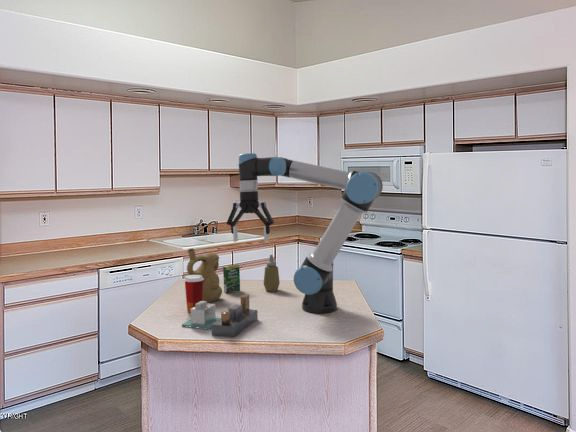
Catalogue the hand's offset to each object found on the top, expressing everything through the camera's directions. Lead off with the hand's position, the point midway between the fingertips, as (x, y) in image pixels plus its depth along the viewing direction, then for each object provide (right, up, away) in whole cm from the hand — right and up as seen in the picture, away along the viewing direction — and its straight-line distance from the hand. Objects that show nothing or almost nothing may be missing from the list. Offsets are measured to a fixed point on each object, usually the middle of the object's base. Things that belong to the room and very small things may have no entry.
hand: (250, 241), depth 203 cm
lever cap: (-18, -31, -13) cm, 38 cm away
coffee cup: (-25, -30, +5) cm, 39 cm away
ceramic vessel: (-24, -28, +22) cm, 43 cm away
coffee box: (-12, -27, +37) cm, 47 cm away
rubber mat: (-18, -32, -13) cm, 38 cm away
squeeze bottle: (+7, -27, +39) cm, 48 cm away
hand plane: (-5, -32, -17) cm, 36 cm away
